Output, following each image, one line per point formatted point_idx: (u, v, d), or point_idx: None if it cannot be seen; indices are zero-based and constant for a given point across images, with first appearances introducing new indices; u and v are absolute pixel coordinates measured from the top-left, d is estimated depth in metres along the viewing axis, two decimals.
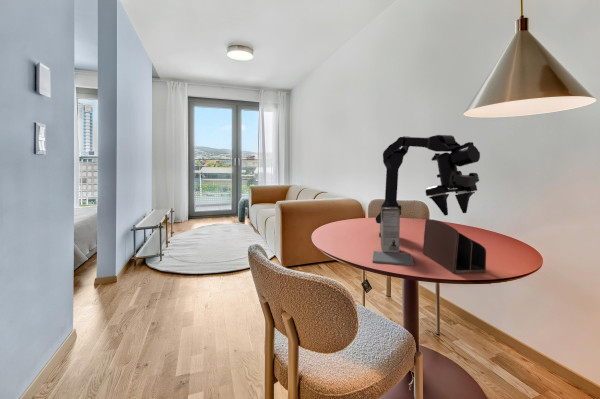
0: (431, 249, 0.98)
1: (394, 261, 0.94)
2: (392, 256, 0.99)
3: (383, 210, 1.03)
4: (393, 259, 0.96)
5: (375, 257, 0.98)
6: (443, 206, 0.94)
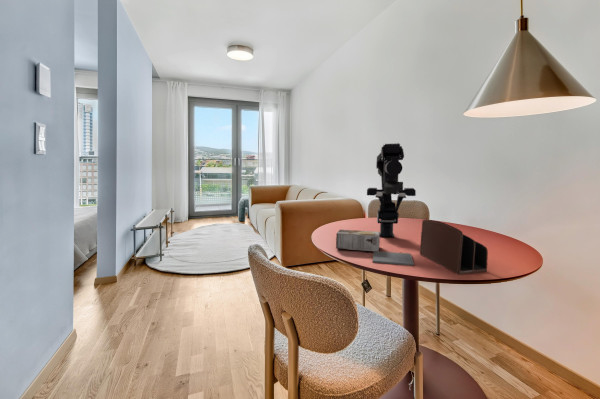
0: (429, 250, 0.97)
1: (394, 261, 0.94)
2: (392, 256, 0.99)
3: (337, 247, 1.09)
4: (393, 259, 0.96)
5: (375, 257, 0.98)
6: (381, 205, 1.17)
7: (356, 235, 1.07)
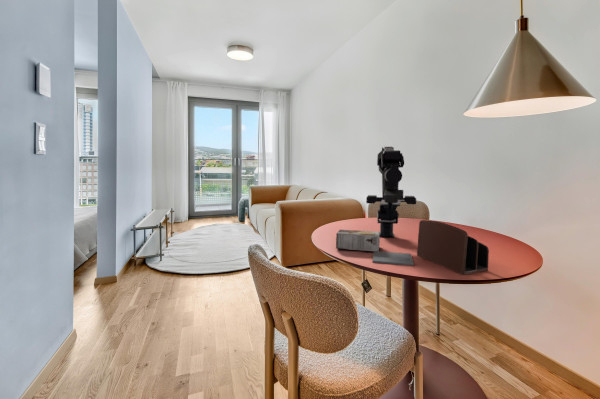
0: (428, 251, 0.96)
1: (394, 261, 0.94)
2: (392, 256, 0.99)
3: (337, 247, 1.09)
4: (393, 259, 0.96)
5: (375, 257, 0.98)
6: (386, 213, 1.14)
7: (356, 235, 1.07)
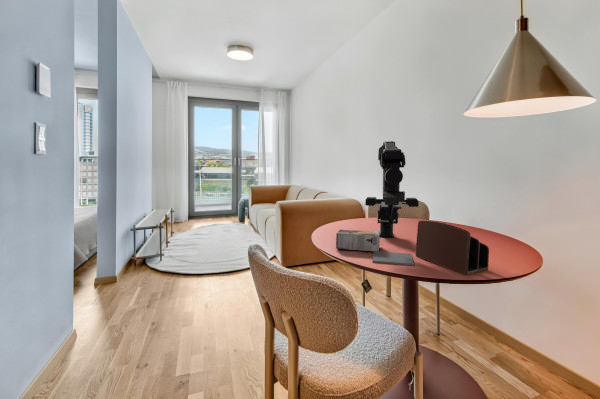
0: (428, 251, 0.96)
1: (394, 261, 0.94)
2: (392, 256, 0.99)
3: (337, 247, 1.09)
4: (393, 259, 0.96)
5: (375, 257, 0.98)
6: (387, 216, 1.07)
7: (356, 235, 1.07)
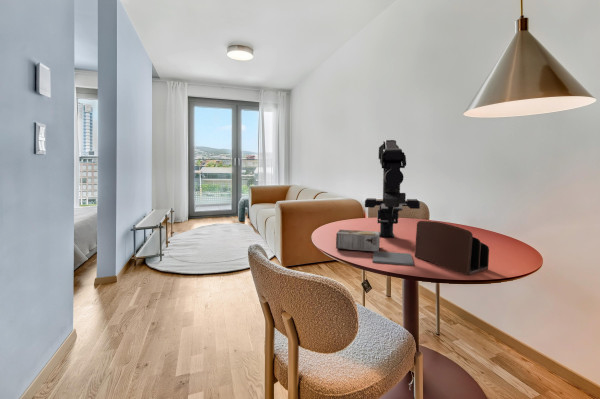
0: (428, 252, 0.95)
1: (394, 261, 0.94)
2: (392, 256, 0.99)
3: (337, 247, 1.09)
4: (393, 259, 0.96)
5: (375, 257, 0.98)
6: (387, 218, 1.03)
7: (356, 235, 1.07)
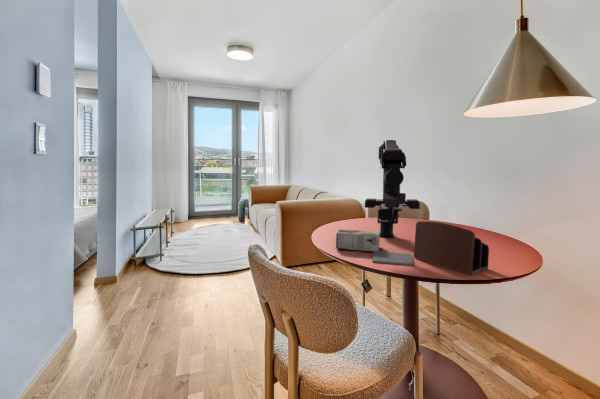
0: (428, 252, 0.95)
1: (394, 261, 0.94)
2: (392, 256, 0.99)
3: (337, 247, 1.09)
4: (393, 259, 0.96)
5: (375, 257, 0.98)
6: (387, 218, 1.03)
7: (356, 235, 1.07)
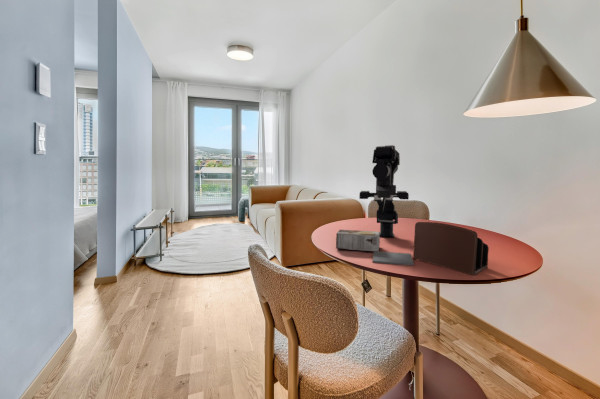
0: (428, 253, 0.94)
1: (394, 261, 0.94)
2: (392, 256, 0.99)
3: (337, 247, 1.09)
4: (393, 259, 0.96)
5: (375, 257, 0.98)
6: (379, 208, 1.14)
7: (356, 235, 1.07)
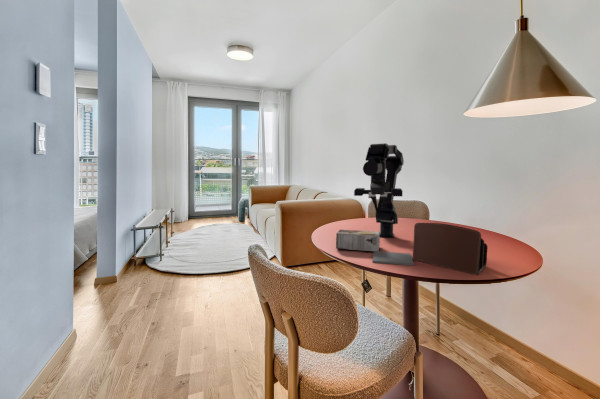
0: (429, 254, 0.93)
1: (394, 261, 0.94)
2: (392, 256, 0.99)
3: (337, 247, 1.09)
4: (393, 259, 0.96)
5: (375, 257, 0.98)
6: (374, 205, 1.16)
7: (356, 235, 1.07)
